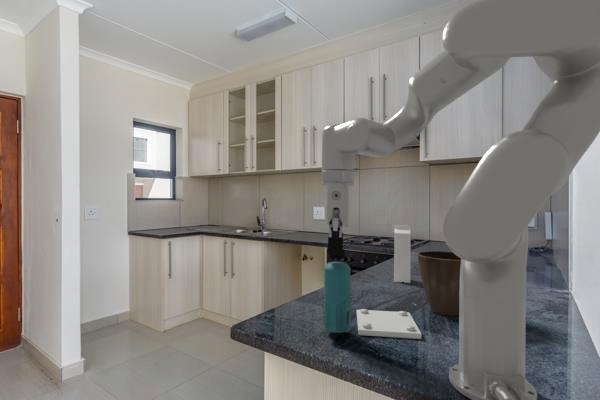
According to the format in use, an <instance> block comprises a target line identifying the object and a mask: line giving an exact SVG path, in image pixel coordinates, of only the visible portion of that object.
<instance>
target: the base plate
mask: <svg viewBox="0 0 600 400" xmlns="http://www.w3.org/2000/svg"><path fill="white" fill-rule="evenodd" d="M356 322H357V332H358V336H369V337H370V336H371V337H384V338H385V337H386V338H398V339H399V338H401V339H413V340H414V339H416V340H417V339H418V340H422V332H421V330H420V328H419V327H418V325H417V324H416V322H415V320H414V319H413V316H412V314H411V313H410V312H408V311H405V310H399V311H391V310H390V311H388V310H374V309H373V310H372V309H366V308H361V309H356Z"/></svg>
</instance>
